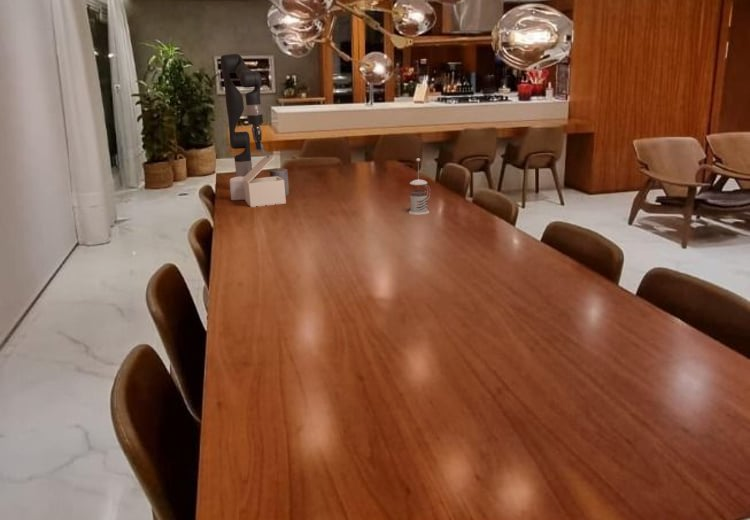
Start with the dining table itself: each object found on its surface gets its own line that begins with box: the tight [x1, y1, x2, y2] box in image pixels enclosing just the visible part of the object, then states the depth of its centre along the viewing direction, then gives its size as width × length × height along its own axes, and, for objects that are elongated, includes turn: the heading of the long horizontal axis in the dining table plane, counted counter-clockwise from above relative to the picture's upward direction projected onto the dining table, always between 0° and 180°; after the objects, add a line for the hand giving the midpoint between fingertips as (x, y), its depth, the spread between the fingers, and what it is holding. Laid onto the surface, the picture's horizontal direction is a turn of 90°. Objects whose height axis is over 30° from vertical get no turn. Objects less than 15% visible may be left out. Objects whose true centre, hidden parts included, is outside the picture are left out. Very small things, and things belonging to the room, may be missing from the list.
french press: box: [408, 157, 431, 216], centre depth 292 cm, size 10×12×25 cm
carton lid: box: [243, 143, 275, 183], centre depth 321 cm, size 14×19×10 cm
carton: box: [244, 176, 287, 208], centre depth 328 cm, size 14×18×12 cm
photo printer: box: [229, 176, 246, 201], centre depth 338 cm, size 10×4×12 cm, turn 98°
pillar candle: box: [269, 167, 290, 197], centre depth 347 cm, size 10×10×15 cm
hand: (258, 149), depth 321 cm, fingers closed
